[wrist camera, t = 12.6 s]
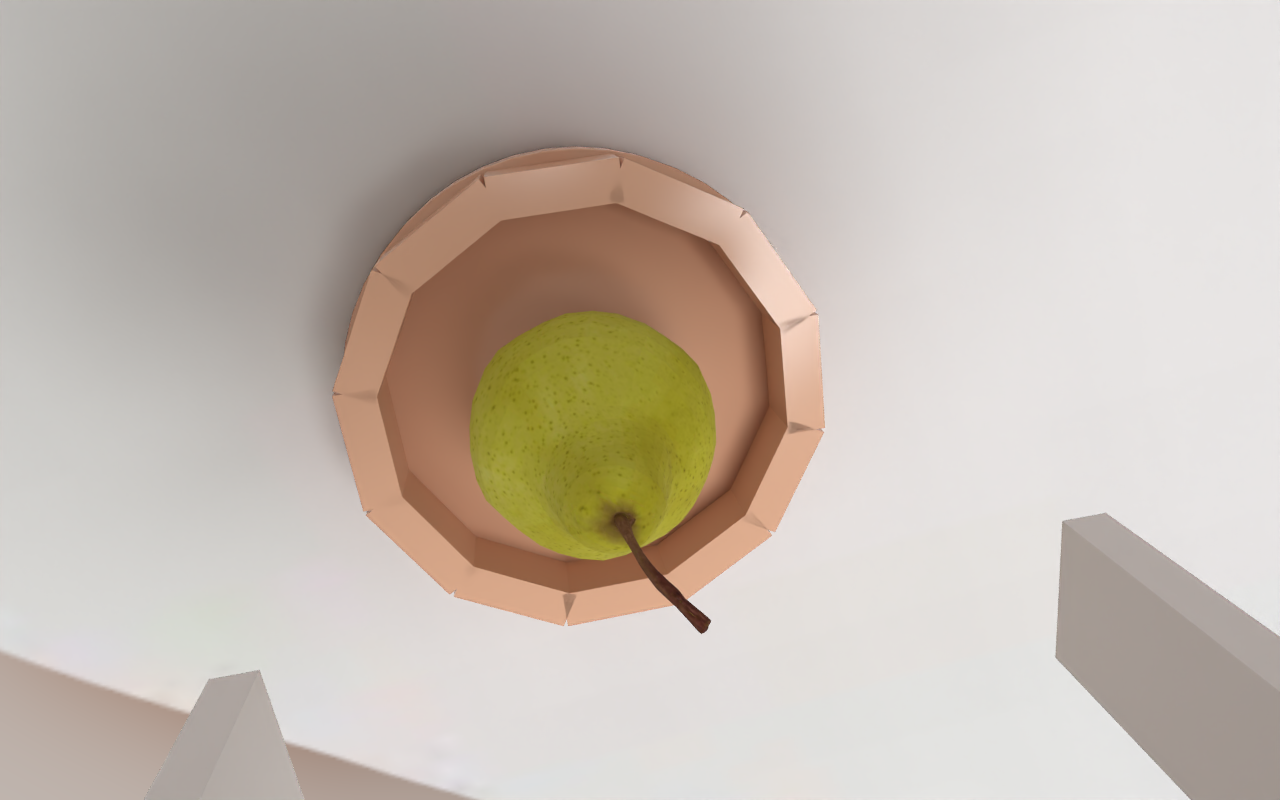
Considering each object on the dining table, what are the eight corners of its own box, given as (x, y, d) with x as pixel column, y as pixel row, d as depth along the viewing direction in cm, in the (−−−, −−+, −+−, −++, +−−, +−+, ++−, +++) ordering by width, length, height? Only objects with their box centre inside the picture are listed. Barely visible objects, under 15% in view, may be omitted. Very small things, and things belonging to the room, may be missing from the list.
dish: (300, 183, 26) (265, 196, 22) (774, 115, 27) (817, 117, 24) (409, 600, 31) (396, 668, 27) (803, 525, 33) (842, 579, 29)
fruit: (428, 400, 27) (371, 613, 15) (575, 239, 26) (629, 343, 15) (588, 526, 29) (640, 792, 18) (729, 382, 28) (878, 567, 17)
